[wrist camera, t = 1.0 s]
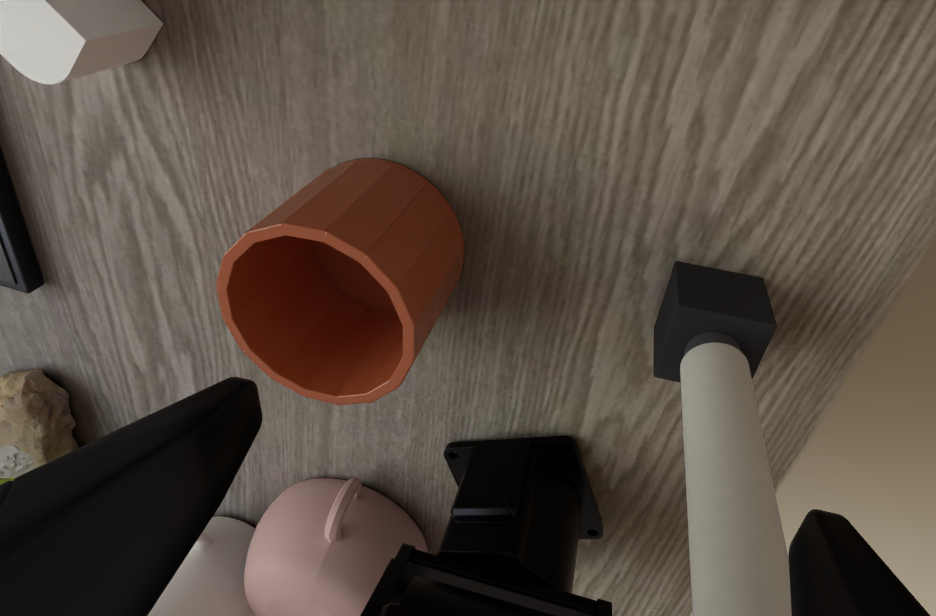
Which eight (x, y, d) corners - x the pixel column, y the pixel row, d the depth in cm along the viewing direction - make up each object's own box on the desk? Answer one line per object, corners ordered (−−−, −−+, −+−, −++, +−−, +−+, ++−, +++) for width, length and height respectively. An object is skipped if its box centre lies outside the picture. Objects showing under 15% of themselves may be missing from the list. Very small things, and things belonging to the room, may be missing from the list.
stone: (155, 462, 37) (29, 341, 34) (114, 506, 34) (-28, 378, 31) (56, 509, 43) (-59, 410, 40) (14, 550, 40) (-113, 447, 37)
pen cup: (487, 299, 24) (444, 396, 19) (346, 321, 27) (277, 411, 22) (429, 137, 21) (361, 203, 16) (276, 180, 24) (179, 248, 19)
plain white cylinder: (748, 374, 19) (813, 699, 11) (684, 379, 20) (702, 688, 12) (742, 323, 19) (807, 637, 11) (674, 331, 19) (687, 629, 11)
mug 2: (221, 639, 34) (274, 549, 39) (385, 703, 33) (419, 603, 38) (212, 514, 27) (278, 423, 32) (419, 590, 26) (455, 486, 31)
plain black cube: (734, 345, 22) (744, 397, 20) (653, 328, 23) (653, 377, 21) (763, 277, 21) (777, 325, 18) (675, 260, 21) (677, 305, 19)
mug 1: (307, 596, 41) (198, 809, 31) (193, 564, 43) (56, 755, 33) (283, 481, 34) (135, 704, 25) (150, 448, 36) (-37, 645, 26)
